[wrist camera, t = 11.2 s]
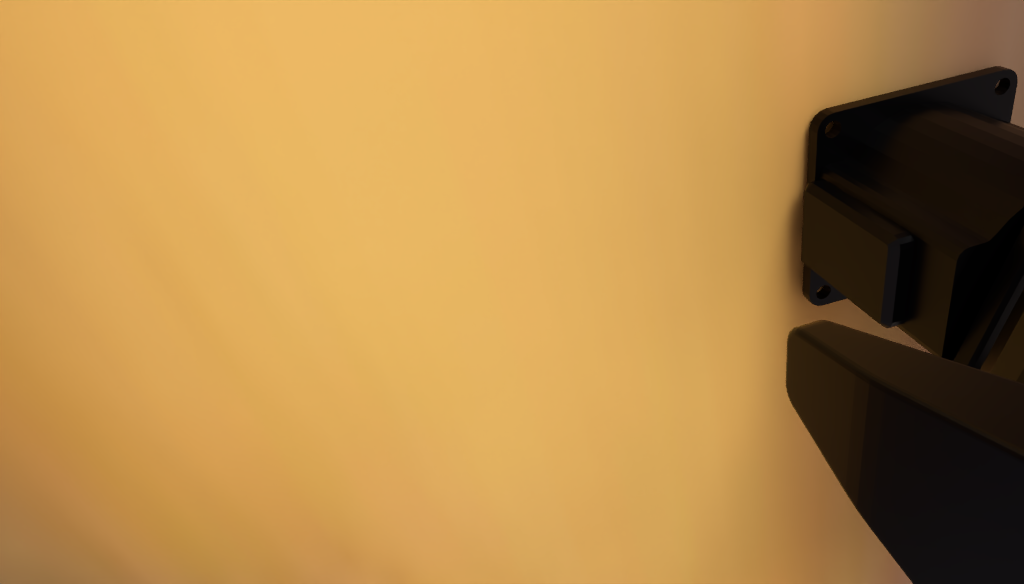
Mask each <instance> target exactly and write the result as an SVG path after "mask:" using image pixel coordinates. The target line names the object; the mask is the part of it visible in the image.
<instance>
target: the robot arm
mask: <svg viewBox="0 0 1024 584" xmlns="http://www.w3.org/2000/svg"><path fill="white" fill-rule="evenodd" d="M999 80H1000V82H999ZM998 82H999V85H998V86H997V87H996V89H995V86H996V84H997V83H998ZM1016 87H1017V75H1016V73H1015V72H1014V71H1012V70H1011V69H1007V68H1004V67H1001V66H995V67H991V68H987V69H983V70H979V71H975V72H971V73H967V74H963V75H959V76H955V77H951V78H947V79H943V80H939V81H935V82H931V83H927V84H923V85H919V86H915V87H911V88H907V89H903V90H899V91H895V92H891V93H887V94H882V95H878V96H874V97H870V98H866V99H862V100H858V101H854V102H850V103H846V104H842V105H838V106H834V107H830V108H826V109H824V110H822V111H820V112H819V113H818V114H816V115H815V116H814V118H813V120H812V121H811V124H810V128H809V149H808V173H807V186H806V189H805V191H804V203H803V227H802V252H801V260H802V262H803V263H804V267H803V295H804V296H805V297H806V299H808V300H809V301H810V302H811V303H812V304H814V305H817V306H820V305H825V304H829V303H832V302H836V301H839V300H843V299H846V298H848V299H849V300H850V301H852V302H853V303H854V304H855V305H857V306H858V307H859V308H860V309H862V310H863V311H864V312H865V313H867V314H868V315H869V316H870V317H872V318H873V319H874V320H875V321H877V322H878V323H879V324H881V325H882V326H884V327H886V328H890V327H894V326H897V327H899V328H900V329H901V330H902V331H904V332H905V333H906V334H908V335H909V336H910V337H911V338H913V339H914V340H915V341H916V342H918V343H919V344H920V345H922V346H923V347H924V348H925V349H927V350H928V351H929V352H930V353H932V354H930V353H926V352H923V351H920V350H917V349H914V348H911V347H908V346H905V345H902V344H899V343H895V342H892V341H889V340H886V339H883V338H880V337H877V336H874V335H871V334H867V333H864V332H861V331H858V330H855V329H852V328H849V327H846V326H843V325H840V324H836V323H833V322H830V321H826V320H820V321H816V322H812V323H809V324H805V325H802V326H798V327H795V328H794V329H792V330H791V331H790V333H789V335H788V339H787V363H786V388H787V393H788V396H789V399H790V401H791V403H792V405H793V407H794V409H795V410H796V412H797V414H798V415H799V417H800V418H801V420H802V422H803V423H804V425H805V427H806V428H807V430H808V432H809V433H810V435H811V437H812V438H813V440H814V441H815V443H816V445H817V446H818V448H819V450H820V451H821V453H822V455H823V456H824V458H825V460H826V461H827V463H828V464H829V466H830V468H831V469H832V471H833V473H834V474H835V476H836V478H837V479H838V481H839V483H840V484H841V486H842V487H843V489H844V491H845V492H846V494H847V495H848V497H849V498H850V500H851V502H852V503H853V505H854V506H855V508H856V509H857V511H858V512H859V513H860V515H861V516H862V517H863V519H864V520H865V522H866V523H867V524H868V526H869V527H870V528H871V530H872V531H873V532H874V533H875V535H876V536H877V537H878V539H879V540H880V541H881V543H882V544H883V545H884V546H885V548H886V549H887V550H888V552H889V553H890V554H891V556H892V557H893V558H894V559H895V561H896V562H897V563H898V565H899V566H900V567H901V569H902V570H903V571H904V572H905V574H906V575H907V576H908V578H909V579H910V580H911V582H912V583H913V584H1024V128H1022V127H1019V126H1017V125H1014V124H1011V123H1010V121H1011V115H1012V110H1013V104H1014V99H1015V93H1016ZM832 121H833V126H832V128H831V129H830V131H829V132H827V133H825V129H826V127H827V125H828V124H829V123H830V122H832ZM822 286H823V288H822V289H821V290H820V291H819V292H817V290H818V289H819V288H820V287H822Z"/></svg>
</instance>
